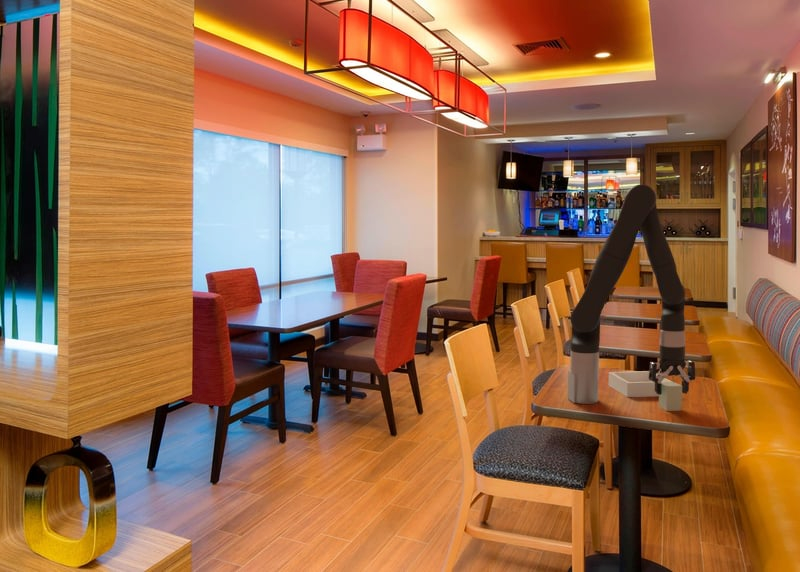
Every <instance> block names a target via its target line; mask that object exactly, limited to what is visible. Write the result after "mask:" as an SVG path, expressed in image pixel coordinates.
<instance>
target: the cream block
mask: <svg viewBox="0 0 800 572" xmlns="http://www.w3.org/2000/svg"><path fill="white" fill-rule="evenodd" d="M661 384H662V394H661V395H659V396H658V407H659V408H660V409H662V410H664V411H666V412H669V411H670V412H671V411H672V412H677V411H678V412H679V411H681V412H682V406H683V393H682V384H679V383H677V382H674V381H672V382H661Z"/></svg>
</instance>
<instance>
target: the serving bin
mask: <svg viewBox="0 0 800 572" xmlns="http://www.w3.org/2000/svg"><path fill="white" fill-rule="evenodd" d="M656 376H657V373H656ZM662 382H673V381H672V380H670V379H668V378H667V377H666V378H664V379H663V381H662ZM608 387H610V388H611V389H613V390H615V391H616V392H618V393H620V394H621V395H623V396H625V397H626V398H646V397H659V395H658V394H657V393H656V392H655V382H653V381H651V380H649V370H647V371H646V370H642V371H640V370H639V371H609V372H608Z"/></svg>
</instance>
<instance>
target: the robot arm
mask: <svg viewBox="0 0 800 572" xmlns="http://www.w3.org/2000/svg"><path fill="white" fill-rule="evenodd" d="M624 196H625V197H624V201H623V203H622V207H621V210H620V212H619V215H618V218H617V220H616V222H615V224H614V226H613V228H612V229H611V231H610V232H609V234H608V236H607V238H606V239H605V241H604V243H603V245H602V247H601V249H600V251H599V253H598V255H597V258H596V259H595V261H594V264H593V267H592V270H591V272H590V276H589V278H588V283H587V285H586V288H585V289H584V292H583V294H582V296H581V297H580V299H579V300H578V303H577V304H576V306H575V307H574V309H572V311H571V313H570V317H569V318H570V320H569V321H570V323H571V338H570V358H569V359H570V360H569V361H570V362H569V363H570V366H569V367H570V370H569V371H568V373H567V375H568V376H567V399H568V401H570V402H572V404H581V405H582V404H583V405H593V404H596V403H598V402H599V378H600V377H599V374H600V367H599V366H600V342H601V339H600V337H601V315H602V312H603V309H604V306H605V304H606V301H607V299H608V297H609V295H610V294H611V292H612V291H613V289H614V288H615V286H616V284H617V283H618V281H619V280H620V277H621V276H622V274H623V273H624V270H625V268H626V266H627V264H628V262H629V260H630V258H631V255H632V253H633V249H634V247H635V244H636V240H637V236H638V233H639V231H640V232H641V236H642V239H643V243H644V247H645V251H646V255H647V257H648V261H649V264H650V266H651V269H652V271H653V274H654V277H655V280H656V284H657V289H658V292H659V296H660V298H661V314H660V315H661V316H660V333H659V343H658V344H659V362H654V361H650V362H649V368H648V371H649V380H651V381H653V382H655V392H656V393H657V394H658V395H661V394H662V384H661V382H662V381H663V379H664V378H666V379H667V377H669V376H670V377H672V376H679V377H680V378H681V386H682V394H684V395H685V394H686V395H687V394H688V392H689V391H690V387H689V386H690V382H691V381H694V380H696V365H695V362H694V361H693V360H687V361H685V359H686V334H685V333H686V331H685V330H686V329H685V328H686V327H685V326H686V325H685V323H686V322H685V321H686V320H685V319H686V318H685V305H686V303H685V302H686V289H685V287H684V285H683V284H682V281H681V279H680V277H679V274H678V272H677V271H678V270H677V265H676V262H675V259H674V256H673V253H672V250H671V247H670V245H669V243H668V240H667V238H666V235H665V233H664V231H663V228H662V226H661V221H660V218H659V214H658V209H657V195H656V192H655V190H654V189H653V188H652V187H651V186H650V185H648V184H644V183H643V184H636V185H633V186H632V187H631V188H629V189H628V190H627V192H626V194H625V195H624ZM685 367H686V368H687V373H686V372H685V371H684V369H685ZM659 368H660V369H659ZM658 369H659V371H658ZM656 374H657V376H656Z"/></svg>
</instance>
